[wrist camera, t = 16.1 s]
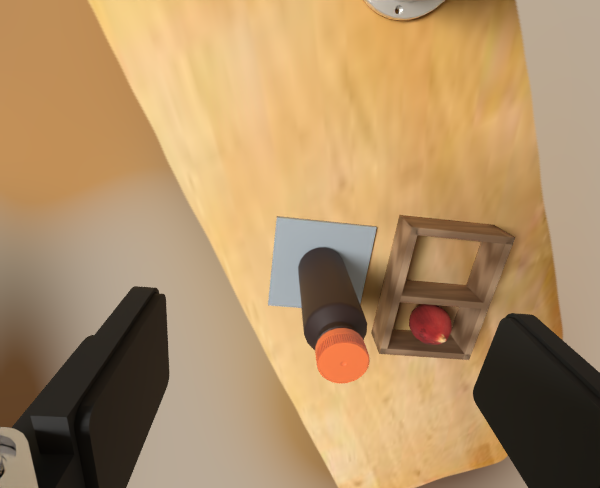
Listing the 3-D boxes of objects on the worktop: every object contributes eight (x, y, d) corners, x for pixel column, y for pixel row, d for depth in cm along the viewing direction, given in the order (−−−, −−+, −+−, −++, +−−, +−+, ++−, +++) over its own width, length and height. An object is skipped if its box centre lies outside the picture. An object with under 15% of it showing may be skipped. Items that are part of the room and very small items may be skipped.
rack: (399, 215, 49) (411, 227, 44) (493, 224, 50) (515, 237, 45) (371, 332, 56) (379, 353, 52) (454, 338, 57) (469, 359, 53)
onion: (421, 331, 57) (442, 365, 49) (395, 314, 55) (412, 347, 48) (446, 305, 55) (472, 337, 48) (420, 287, 53) (442, 317, 46)
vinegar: (289, 259, 50) (293, 353, 32) (331, 237, 49) (361, 321, 31) (311, 295, 52) (327, 401, 34) (351, 275, 51) (391, 373, 33)
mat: (277, 216, 48) (277, 217, 48) (375, 226, 49) (376, 227, 49) (268, 303, 53) (268, 305, 53) (357, 310, 54) (358, 312, 54)
